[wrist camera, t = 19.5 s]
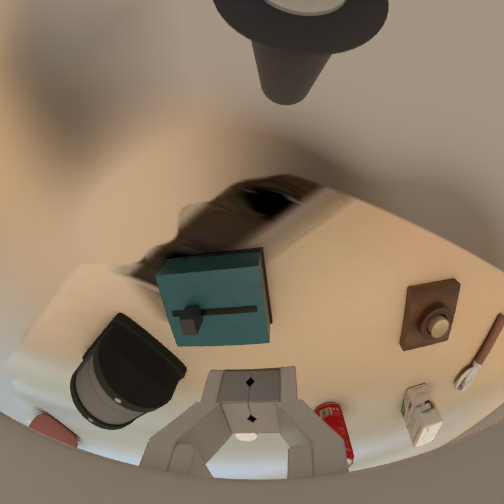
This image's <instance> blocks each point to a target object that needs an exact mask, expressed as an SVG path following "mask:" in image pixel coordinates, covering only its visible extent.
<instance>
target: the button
mask: <svg viewBox="0 0 504 504" xmlns="http://www.w3.org/2000/svg"><path fill="white" fill-rule="evenodd" d="M448 327H449V322H448V321H447V319H446V318H445V317H444V316H443V315H440V314H439V315H436V316H434V317H433V318H432V319H431V320H430V322H429V323H428V331H429V332H430V334H431V335H432V336H433V337H435V338H438V337H441V336H442V335H444V334H445V333H446V331H447V330H448Z"/></svg>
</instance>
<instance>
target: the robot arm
mask: <svg viewBox="0 0 504 504" xmlns="http://www.w3.org/2000/svg"><path fill="white" fill-rule="evenodd" d="M264 1H265V2H267V3H268V4H269V5H271V6H273V7H275V8H277V9H279V10H281V11H284V12H287V13H291V14H295V15H302V16H318V15H324V14H328V13H331V12H334V11H336V10H337V9H339V8H340V7H342V6H343V5H344V4H345V2H346V1H347V0H264ZM238 433H280V435H281V436H282V437H283V439H284V440H285V441H286V443H287V444H288V445H289V447H290V448H289V449H288V476H287V479H268V480H249V479H224V478H213V476H212V475H211V473H210V471H209V470H208V468H207V467H206V465H205V464H206V463H207V462H208V461H209V460H210V459H211V458H212V457H213V456H214V454H215V453H216V452H217V451H218V450H219V449H220V448H221V447H222V445H223V444H224V443H225V442H226V441H227V440H228V439H229V437H230V436H231V435H232V434H238ZM0 504H504V418H503V419H501V420H499V421H497V422H496V423H494V424H492V425H490V426H488V427H486V428H484V429H482V430H480V431H478V432H475V433H474V434H471V435H469V436H467V437H464V438H462V439H460V440H458V441H455V442H453V443H450V444H448V445H445V446H442V447H440V448H437V449H434V450H432V451H429V452H426V453H423V454H420V455H417V456H413V457H410V458H407V459H403V460H400V461H396V462H392V463H389V464H385V465H380V466H376V467H372V468H367V469H362V470H357V471H351V472H349V470H348V463H347V456H346V450H345V444H344V439H343V438H342V437H341V436H340V435H338V434H337V433H336V432H335V431H334V430H333V429H332V428H331V427H330V426H329V425H328V424H327V423H326V422H324V421H323V420H322V419H321V418H320V417H319V416H318V415H317V414H316V413H315V412H314V411H313V410H312V409H311V408H310V407H309V406H308V405H307V404H306V403H305V402H304V401H303V400H298V397H297V381H296V367H295V366H288V367H281V368H280V367H278V368H265V369H248V370H211V371H210V372H209V374H208V378H207V381H206V385H205V388H204V391H203V395H202V398H201V402H196V403H195V404H194V405H192V406H191V407H190V408H189V409H187V410H186V411H185V412H184V413H182V414H181V415H180V416H179V417H177V418H176V419H175V420H173V421H172V422H171V423H170V424H168V425H167V426H166V427H164V428H163V429H162V430H160V431H159V432H158V433H156V434H155V435H154V436H152V437H151V438H150V439H149V442H148V444H147V447H146V450H145V452H144V455H143V457H142V460H141V462H140V465H139V466H136V465H132V464H128V463H124V462H120V461H116V460H113V459H109V458H106V457H103V456H99V455H96V454H93V453H90V452H87V451H84V450H81V449H79V448H76V447H73V446H71V445H68V444H66V443H63V442H61V441H58V440H56V439H53V438H51V437H49V436H47V435H44V434H42V433H40V432H38V431H36V430H34V429H32V428H30V427H27V426H26V425H23V424H22V423H20V422H18V421H16V420H14V419H12V418H10V417H9V416H7V415H5V414H3V413H2V412H0Z"/></svg>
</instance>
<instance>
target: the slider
mask: <svg viewBox="0 0 504 504" xmlns="http://www.w3.org/2000/svg"><path fill="white" fill-rule="evenodd" d="M202 322H203V318H202V314H201V310H200V306H199V305H198V306H186V307H185V309H184V311H183V312H182V314H181V316H180V318H179V323H180V326H181V329H182V333H183V335H198V332H199V330H200V327H201V325H202Z"/></svg>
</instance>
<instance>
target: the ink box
mask: <svg viewBox="0 0 504 504" xmlns="http://www.w3.org/2000/svg"><path fill="white" fill-rule="evenodd" d="M401 412H402V415H403V417H404V420H405V423H406V426H407V429H408V432H409V435H410V438H411V441H412V444H413V447H418V446H421V445H423V444H426V443H428V442H431V441H433V439H434V437H435V435H436V433H437V432H438V430H439V428H440V426H441V424H442V422H443V420H442V417H441V415H440V413H439V411H438V409H437V407H436V405H435V403H434V401H433V399H432V397H431V395H430V392H429V390H428V388H427V386H426V384H422V385H419V386H415V387H412V388H409V389H407V392H406V396H405V399H404V403H403V406H402V410H401Z"/></svg>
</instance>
